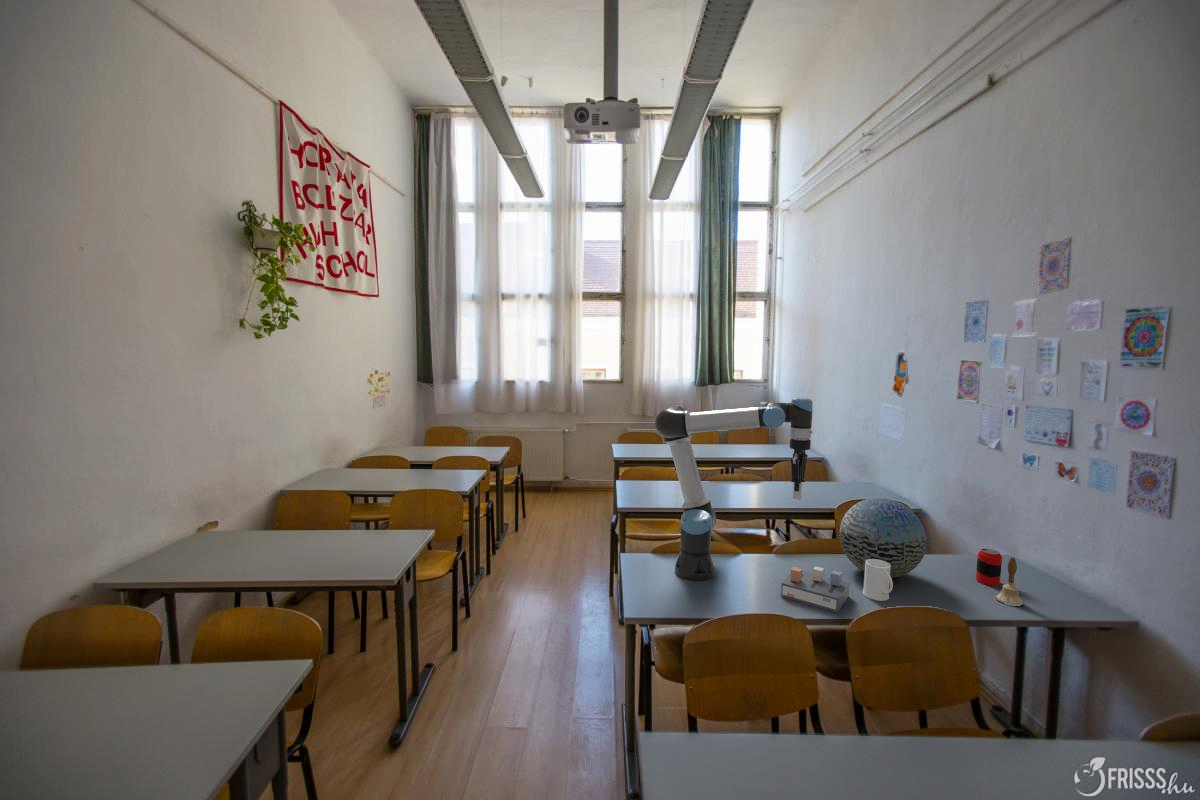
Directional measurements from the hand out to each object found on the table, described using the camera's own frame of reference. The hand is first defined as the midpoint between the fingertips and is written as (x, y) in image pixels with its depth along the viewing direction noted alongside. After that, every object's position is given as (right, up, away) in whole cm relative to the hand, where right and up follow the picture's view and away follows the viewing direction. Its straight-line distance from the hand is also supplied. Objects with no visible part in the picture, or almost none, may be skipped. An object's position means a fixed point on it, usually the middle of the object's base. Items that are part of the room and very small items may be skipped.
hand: (797, 498), depth 216 cm
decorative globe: (+33, -30, +2) cm, 44 cm away
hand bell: (+68, -33, -19) cm, 78 cm away
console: (0, -31, -18) cm, 36 cm away
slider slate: (+7, -26, -20) cm, 34 cm away
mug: (+22, -32, -18) cm, 43 cm away
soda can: (+71, -31, -3) cm, 78 cm away
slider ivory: (+2, -26, -16) cm, 31 cm away
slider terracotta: (-6, -26, -17) cm, 32 cm away
